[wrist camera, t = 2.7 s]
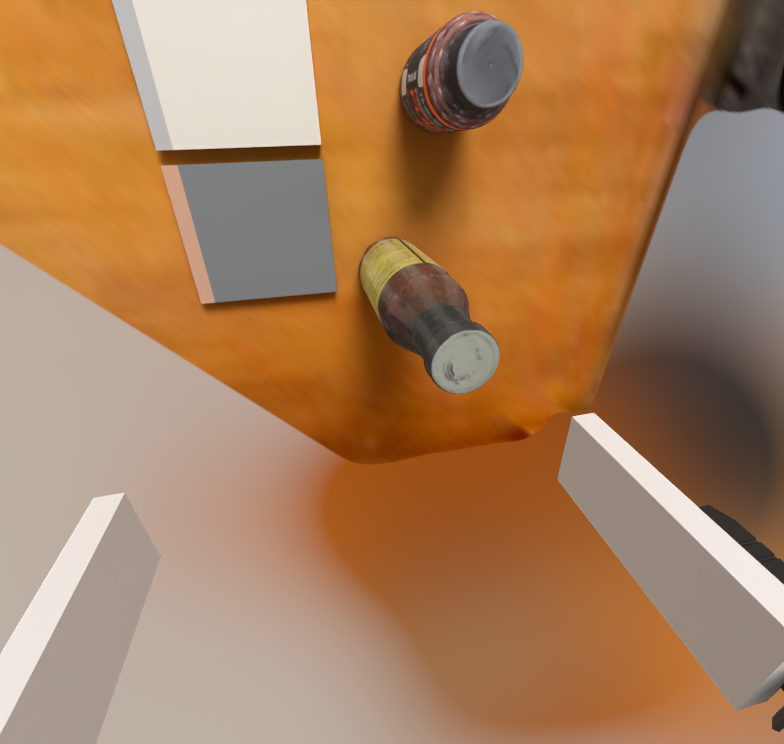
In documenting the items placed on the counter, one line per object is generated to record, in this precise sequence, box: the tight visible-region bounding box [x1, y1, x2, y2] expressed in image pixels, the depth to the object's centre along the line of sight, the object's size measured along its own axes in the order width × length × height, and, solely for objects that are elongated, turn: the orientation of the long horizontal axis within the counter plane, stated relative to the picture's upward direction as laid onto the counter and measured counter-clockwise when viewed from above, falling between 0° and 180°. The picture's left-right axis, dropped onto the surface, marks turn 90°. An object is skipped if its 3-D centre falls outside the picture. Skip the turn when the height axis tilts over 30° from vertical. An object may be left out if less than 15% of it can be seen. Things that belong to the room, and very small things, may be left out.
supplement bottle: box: [400, 11, 523, 133], centre depth 26 cm, size 6×6×11 cm
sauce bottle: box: [359, 237, 500, 394], centre depth 29 cm, size 6×6×20 cm
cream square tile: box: [112, 0, 321, 151], centre depth 27 cm, size 12×11×1 cm
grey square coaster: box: [161, 159, 337, 304], centre depth 34 cm, size 12×11×1 cm
